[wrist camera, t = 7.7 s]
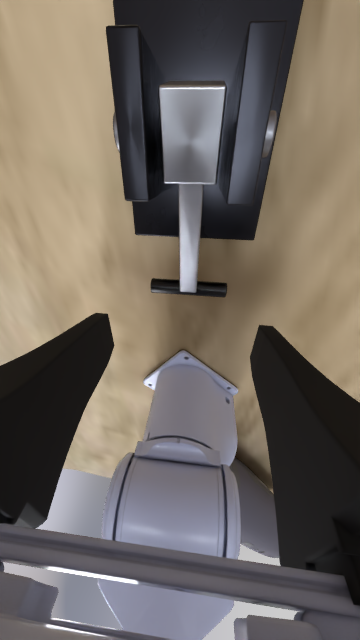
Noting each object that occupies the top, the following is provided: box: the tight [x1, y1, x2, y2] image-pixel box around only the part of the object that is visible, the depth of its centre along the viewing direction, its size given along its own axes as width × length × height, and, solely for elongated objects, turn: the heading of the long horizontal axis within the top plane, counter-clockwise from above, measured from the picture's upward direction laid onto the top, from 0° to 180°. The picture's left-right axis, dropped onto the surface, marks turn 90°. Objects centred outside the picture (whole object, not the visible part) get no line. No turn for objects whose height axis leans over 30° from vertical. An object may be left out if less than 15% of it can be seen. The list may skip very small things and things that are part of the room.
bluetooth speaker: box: [229, 458, 279, 558], centre depth 37 cm, size 23×9×10 cm, turn 36°
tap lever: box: [151, 81, 227, 297], centre depth 11 cm, size 10×5×2 cm, turn 179°
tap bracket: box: [106, 0, 304, 240], centre depth 11 cm, size 11×9×9 cm
